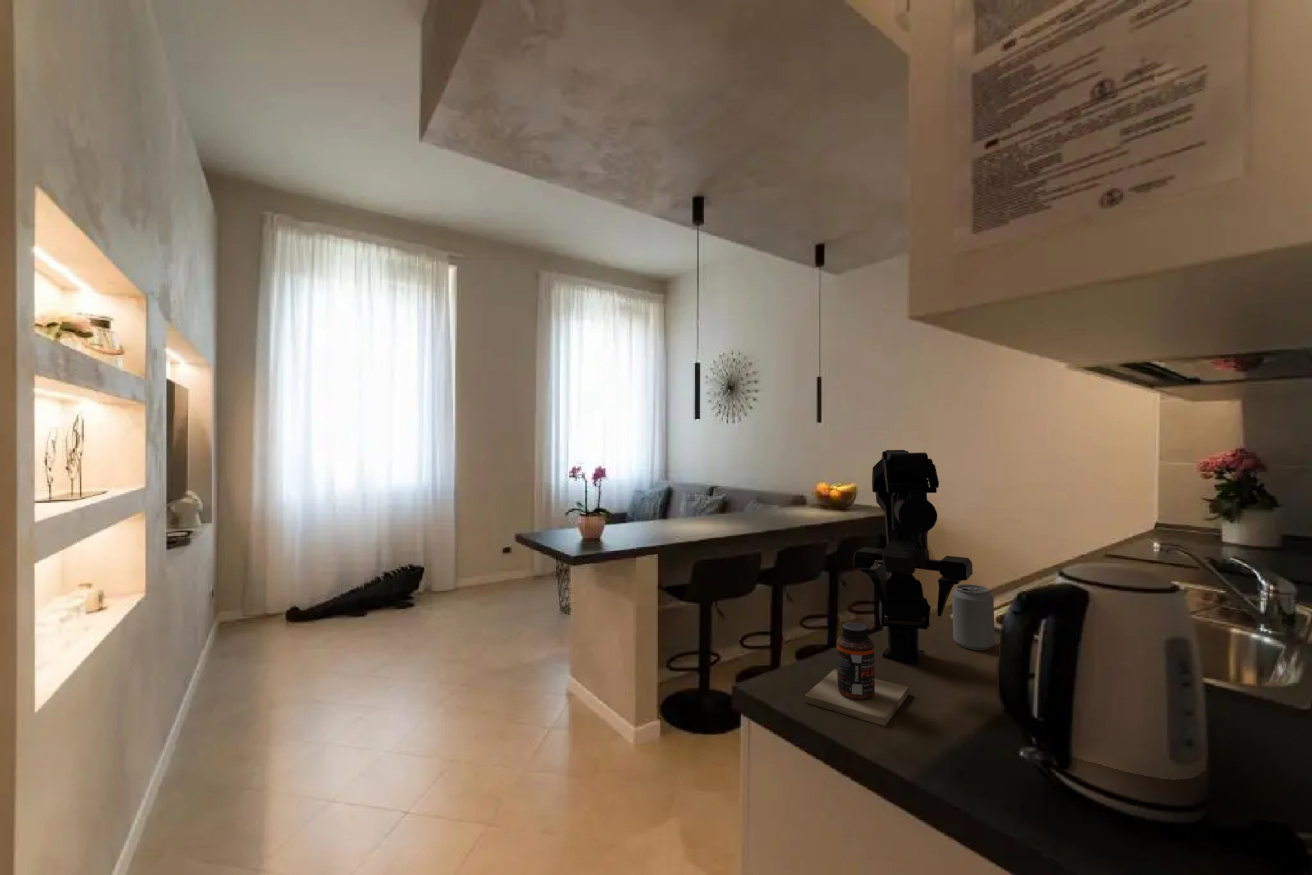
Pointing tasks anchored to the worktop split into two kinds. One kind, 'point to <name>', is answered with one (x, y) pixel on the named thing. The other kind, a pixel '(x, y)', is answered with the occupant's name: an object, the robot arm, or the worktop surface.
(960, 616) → the can
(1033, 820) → the worktop surface
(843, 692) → the supplement bottle
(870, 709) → the beige square board
